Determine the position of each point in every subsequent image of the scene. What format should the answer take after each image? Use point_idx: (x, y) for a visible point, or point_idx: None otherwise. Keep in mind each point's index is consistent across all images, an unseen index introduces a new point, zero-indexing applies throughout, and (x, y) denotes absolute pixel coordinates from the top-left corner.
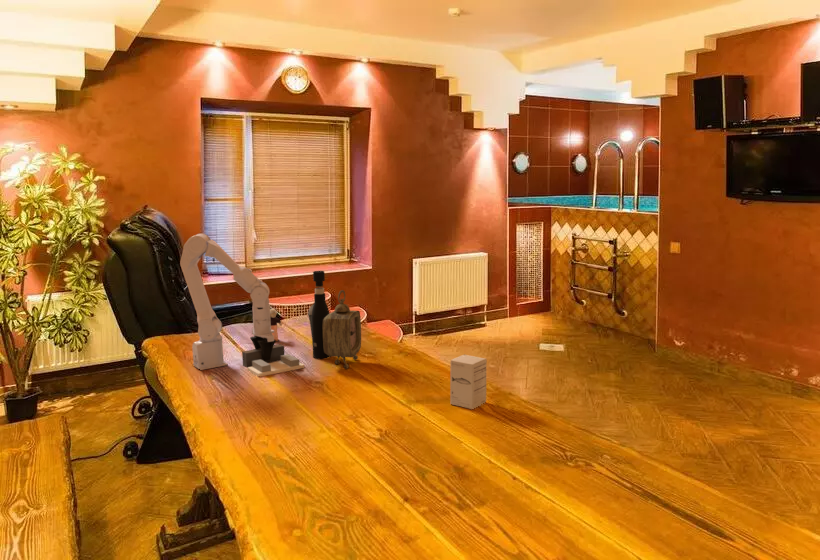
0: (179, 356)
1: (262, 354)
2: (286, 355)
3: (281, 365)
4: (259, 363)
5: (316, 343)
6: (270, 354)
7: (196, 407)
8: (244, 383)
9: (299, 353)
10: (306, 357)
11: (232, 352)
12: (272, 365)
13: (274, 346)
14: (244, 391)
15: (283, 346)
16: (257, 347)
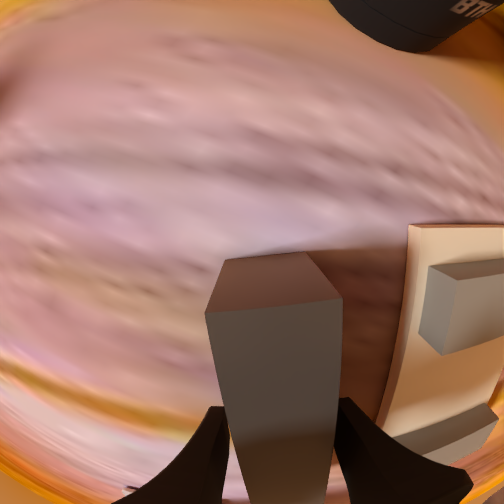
0: (49, 489)
1: (345, 466)
2: (469, 312)
3: (475, 348)
4: (446, 460)
5: (494, 5)
6: (369, 422)
7: (470, 497)
8: (463, 460)
9: (192, 67)
10: (355, 74)
11: (14, 403)
12: (439, 391)
13: (275, 402)
14: (497, 450)
15: (341, 304)
16: (218, 495)
